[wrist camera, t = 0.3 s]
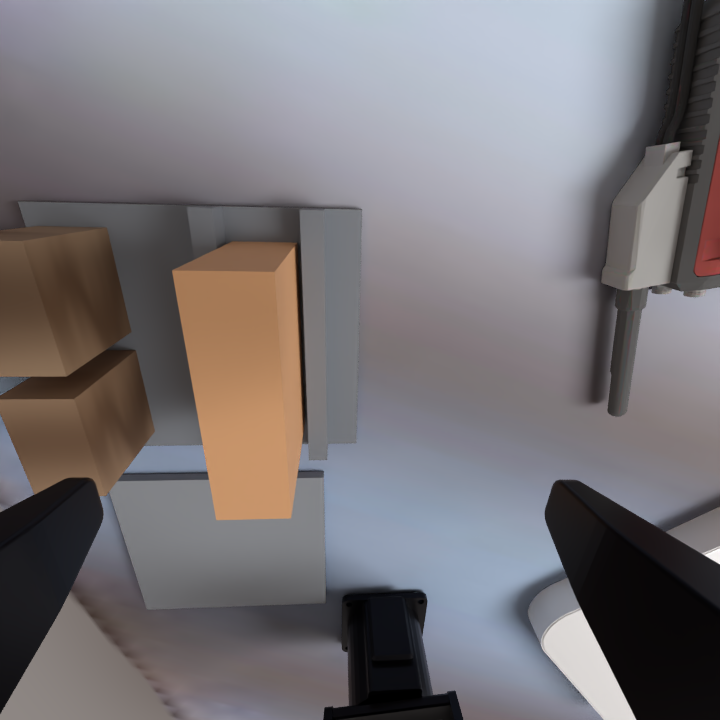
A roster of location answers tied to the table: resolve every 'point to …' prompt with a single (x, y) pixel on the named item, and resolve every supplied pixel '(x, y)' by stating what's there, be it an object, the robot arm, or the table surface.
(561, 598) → the white plate
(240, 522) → the mat
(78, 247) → the offcut
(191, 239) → the rack
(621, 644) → the robot arm
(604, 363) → the table surface
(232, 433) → the light brown flat block
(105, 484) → the offcut
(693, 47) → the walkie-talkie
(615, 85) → the table surface
